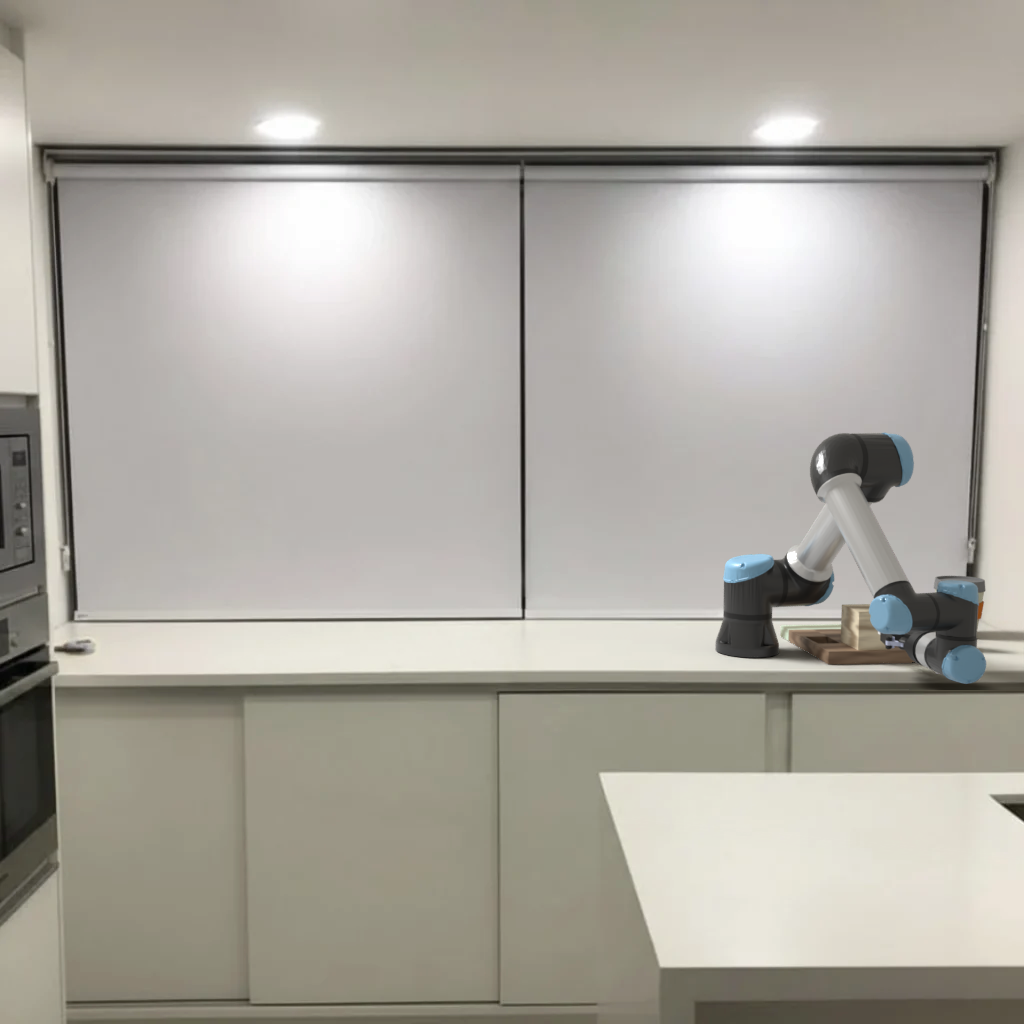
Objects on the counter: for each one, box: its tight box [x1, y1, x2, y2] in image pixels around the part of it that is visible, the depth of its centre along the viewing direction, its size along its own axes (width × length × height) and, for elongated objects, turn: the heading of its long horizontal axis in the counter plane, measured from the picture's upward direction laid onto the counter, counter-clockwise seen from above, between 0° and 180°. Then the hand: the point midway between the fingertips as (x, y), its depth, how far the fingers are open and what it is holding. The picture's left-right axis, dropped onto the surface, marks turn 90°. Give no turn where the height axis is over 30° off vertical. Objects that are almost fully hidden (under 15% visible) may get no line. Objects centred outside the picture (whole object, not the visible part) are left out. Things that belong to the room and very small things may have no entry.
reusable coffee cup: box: [933, 575, 986, 630], centre depth 276 cm, size 12×12×15 cm
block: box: [840, 603, 887, 650], centre depth 249 cm, size 10×7×9 cm
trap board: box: [780, 623, 914, 665], centre depth 260 cm, size 32×22×3 cm
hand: (881, 627), depth 240 cm, fingers closed
